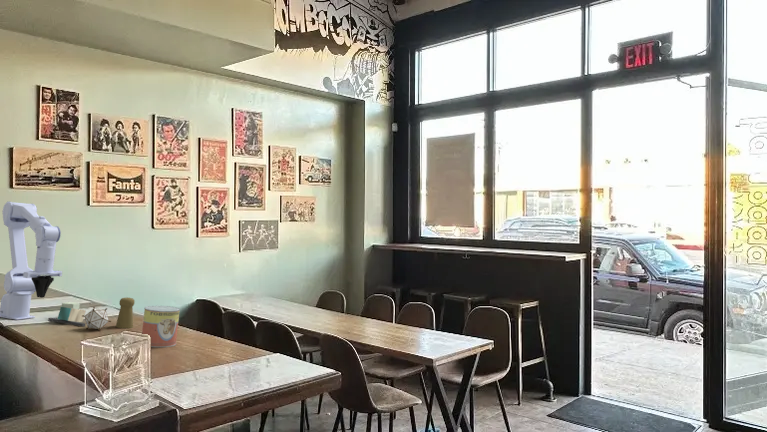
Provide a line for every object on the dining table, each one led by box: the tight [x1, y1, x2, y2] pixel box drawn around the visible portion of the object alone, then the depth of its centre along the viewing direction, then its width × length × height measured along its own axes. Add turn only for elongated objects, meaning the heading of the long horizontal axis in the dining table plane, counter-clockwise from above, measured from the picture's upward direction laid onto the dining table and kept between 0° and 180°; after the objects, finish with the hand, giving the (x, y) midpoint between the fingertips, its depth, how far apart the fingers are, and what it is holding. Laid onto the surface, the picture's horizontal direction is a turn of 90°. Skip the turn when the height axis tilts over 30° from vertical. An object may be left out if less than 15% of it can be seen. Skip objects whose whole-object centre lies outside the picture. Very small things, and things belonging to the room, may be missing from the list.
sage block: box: [61, 301, 81, 310], centre depth 218 cm, size 4×4×6 cm
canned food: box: [141, 305, 181, 348], centre depth 190 cm, size 11×11×12 cm
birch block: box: [56, 306, 86, 323], centre depth 210 cm, size 4×4×8 cm
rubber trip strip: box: [47, 317, 86, 327], centre depth 208 cm, size 16×1×1 cm, turn 74°
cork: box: [115, 297, 136, 329], centre depth 212 cm, size 6×6×11 cm
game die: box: [83, 306, 112, 332], centre depth 202 cm, size 9×8×10 cm
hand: (40, 297), depth 201 cm, fingers closed
